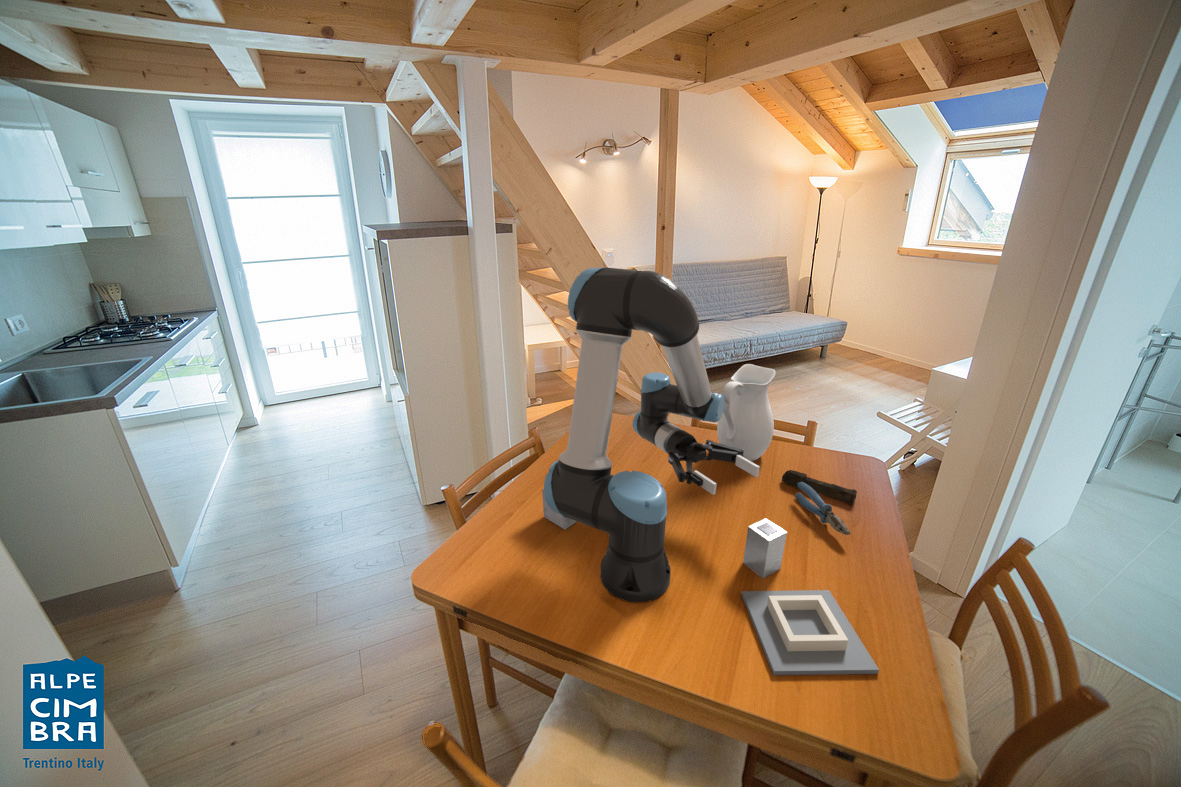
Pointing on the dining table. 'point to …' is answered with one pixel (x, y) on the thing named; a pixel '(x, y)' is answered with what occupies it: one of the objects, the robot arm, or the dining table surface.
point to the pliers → (820, 508)
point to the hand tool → (820, 486)
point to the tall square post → (764, 547)
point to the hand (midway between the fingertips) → (737, 480)
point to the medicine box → (556, 516)
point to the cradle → (806, 633)
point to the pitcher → (747, 411)
